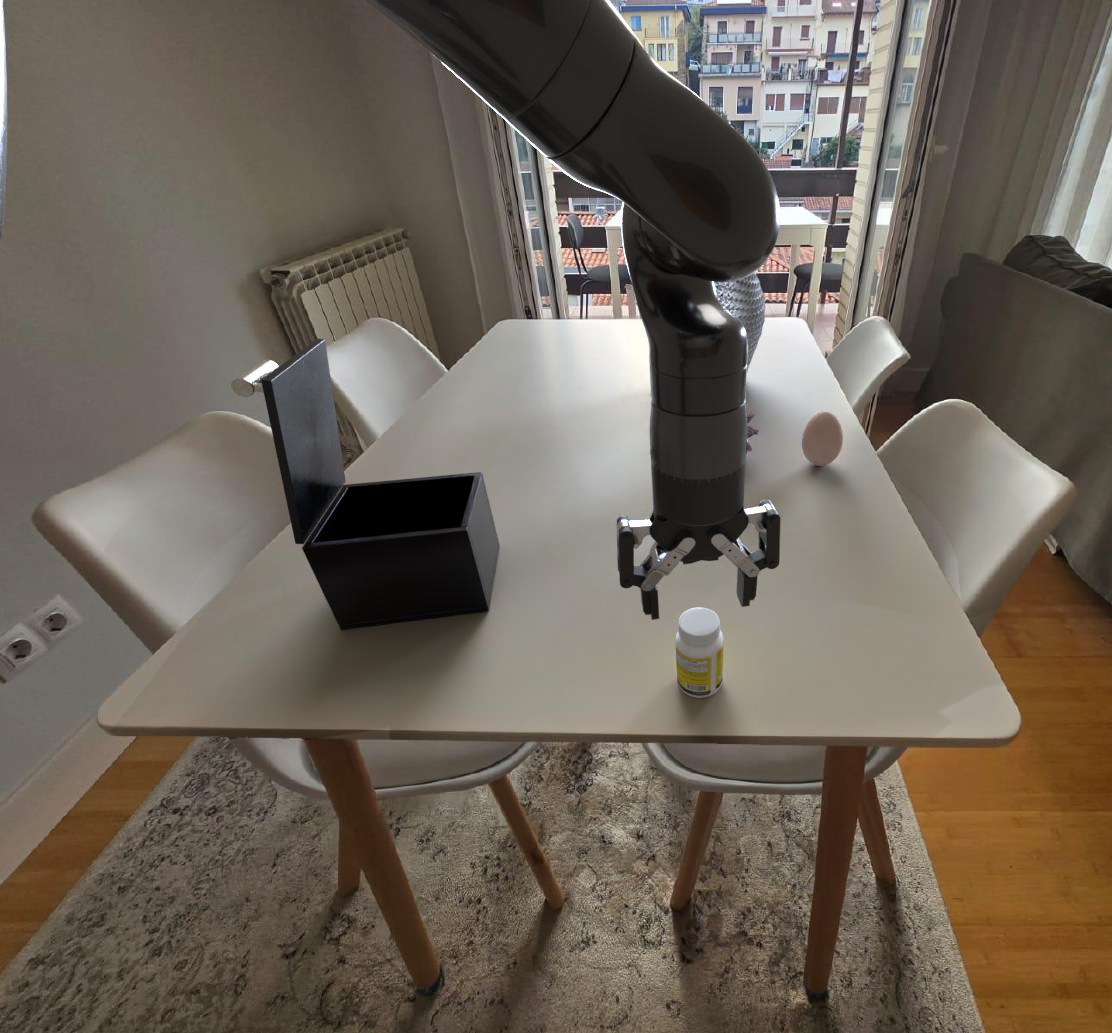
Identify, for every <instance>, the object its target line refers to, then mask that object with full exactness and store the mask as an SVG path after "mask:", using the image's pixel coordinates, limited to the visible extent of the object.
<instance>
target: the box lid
mask: <svg viewBox="0 0 1112 1033" xmlns="http://www.w3.org/2000/svg"><path fill="white" fill-rule="evenodd" d="M326 343H327V342H326V339H325V338H316V339H314V340H313V341H312V342H310V343H309V344H308V345H306V346H305V347H304V348H302V349H301V350H300V351H298V352H296V354H294V355H293V356H292V357H290V358H288V359H287V360H286V361H285V362H283V363H282V364H281V365H278V363H276V362H275V361H273V360H271V359H263V360H261V361H259V362H258V363H256V364H254V365H253V366H252V367H250V368H249V369H248V370H246V371H245V372H243V373H242V374H240V375H239V376H237V377H236V378H235V379H233V380H232V382H231V384H230V386H231V387H230V388H231V389H232V391H233V392H234V393H235V395H237V396H240V397H242V398H249V397H251V396H253V395H254V394H255V393H263V395H264V396H263V397H264V402H265V405H266V410H267V415H268V421H269V425H270V430H271V433H272V439H273V443H274V449H275V453H276V457H277V462H278V468H279V473H280V478H281V482H282V487H283V492H284V496H285V501H286V505H287V510H288V516H289V520H290V525H291V529H292V534H293V539H294V543H295V545H304V544H305V542H306V541H307V539H308V538H309V536H310V535H311V533H312V532H313V530H314V529H315V527H316V526H317V524H318V523H319V521H320V520H321V518H322V517H323V515H324V514H325V512H326V511H327V509H328V508H329V506H330V505H331V503H332V502H333V500H334V499H335V497H336V496H337V494H338V493H339V491H340V490H341V488H342V487H343V485H345V483H346V481H347V480H346V475H345V474H346V473H345V468H344V461H343V455H342V454H343V453H342V448H341V447H342V446H341V439H340V432H339V426H338V419H337V413H336V412H337V411H336V405H335V399H334V392H333V384H332V379H331V371H330V364H329V357H328V352H327V351H328V350H327V344H326Z"/></svg>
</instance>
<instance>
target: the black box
mask: <svg viewBox="0 0 1112 1033" xmlns="http://www.w3.org/2000/svg"><path fill="white" fill-rule="evenodd" d="M493 516H494V515H493V512H492V507H491V503H490V499H489V494H488V491H487V487H486V482H485V478H484V473H483V471H477V472H467V473H457V474H446V475H445V474H444V475H433V476H423V477H422V476H421V477H412V478H411V477H410V478H401V479H393V480H381V481H369V482H359V483H358V482H357V483H349V484H344V485H343V486H342V488H341V489H340V491H339V492H338V494H337V495H336V497H335V498H334V500H333V501H332V503H331V504H330V506H329V507H328V509H327V510H326V512H325V513H324V515H323V516H322V518H321V519H320V521H319V522H318V524H317V525H316V527H315V528H314V530H313V531H312V533H311V534H310V536H309V537H308V539H307V540H306V542H305V543H304V544H302V547H301V550H302V551H303V554H304V556H305V558H306V560H307V562H308V564H309V566H310V569H311V570H312V573H313V575H314V577H315V579H316V582H317V583H318V585H319V588H320V590H321V591H322V594H323V596H324V598H325V600H326V602H327V604H328V606H329V609H330V610H331V611H330V612H332V615H333V618H334V619H335V621H336V623H337V625H338V628H339V630H340V631H345V630H353V629H361V628H369V627H377V626H383V625H384V626H385V625H392V624H400V623H408V622H415V621H423V620H430V619H439V618H447V617H455V616H463V615H470V614H477V613H485V612H486V613H487V612H490V608H491V601H492V595H493V588H494V583H495V577H496V571H497V565H498V558H499V553H500V546H501V545H500V542H499V541H500V540H499V537H498V532H497V529H496V528H497V527H496V525H495V524H496V523H495V521H494V517H493Z"/></svg>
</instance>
